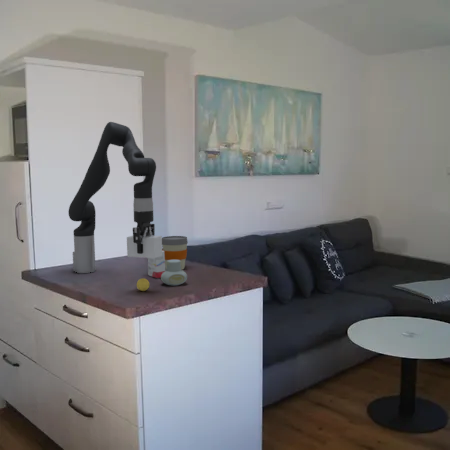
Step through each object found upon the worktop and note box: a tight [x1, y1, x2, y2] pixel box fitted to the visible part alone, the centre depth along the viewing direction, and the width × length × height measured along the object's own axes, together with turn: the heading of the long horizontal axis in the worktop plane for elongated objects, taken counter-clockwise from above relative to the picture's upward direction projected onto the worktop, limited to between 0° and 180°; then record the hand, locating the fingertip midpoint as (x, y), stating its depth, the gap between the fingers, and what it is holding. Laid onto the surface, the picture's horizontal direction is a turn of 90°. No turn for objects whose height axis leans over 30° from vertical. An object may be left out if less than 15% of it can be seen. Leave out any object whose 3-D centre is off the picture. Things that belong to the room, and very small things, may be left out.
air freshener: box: [160, 260, 188, 287], centre depth 211 cm, size 11×8×10 cm
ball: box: [136, 277, 150, 292], centre depth 200 cm, size 5×5×5 cm
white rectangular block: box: [126, 235, 163, 259], centre depth 198 cm, size 12×7×8 cm, turn 72°
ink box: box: [147, 251, 166, 279], centre depth 227 cm, size 9×5×12 cm, turn 33°
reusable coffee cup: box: [162, 235, 188, 271], centre depth 243 cm, size 13×12×15 cm
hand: (144, 251), depth 199 cm, fingers closed on white rectangular block, 6 cm apart
